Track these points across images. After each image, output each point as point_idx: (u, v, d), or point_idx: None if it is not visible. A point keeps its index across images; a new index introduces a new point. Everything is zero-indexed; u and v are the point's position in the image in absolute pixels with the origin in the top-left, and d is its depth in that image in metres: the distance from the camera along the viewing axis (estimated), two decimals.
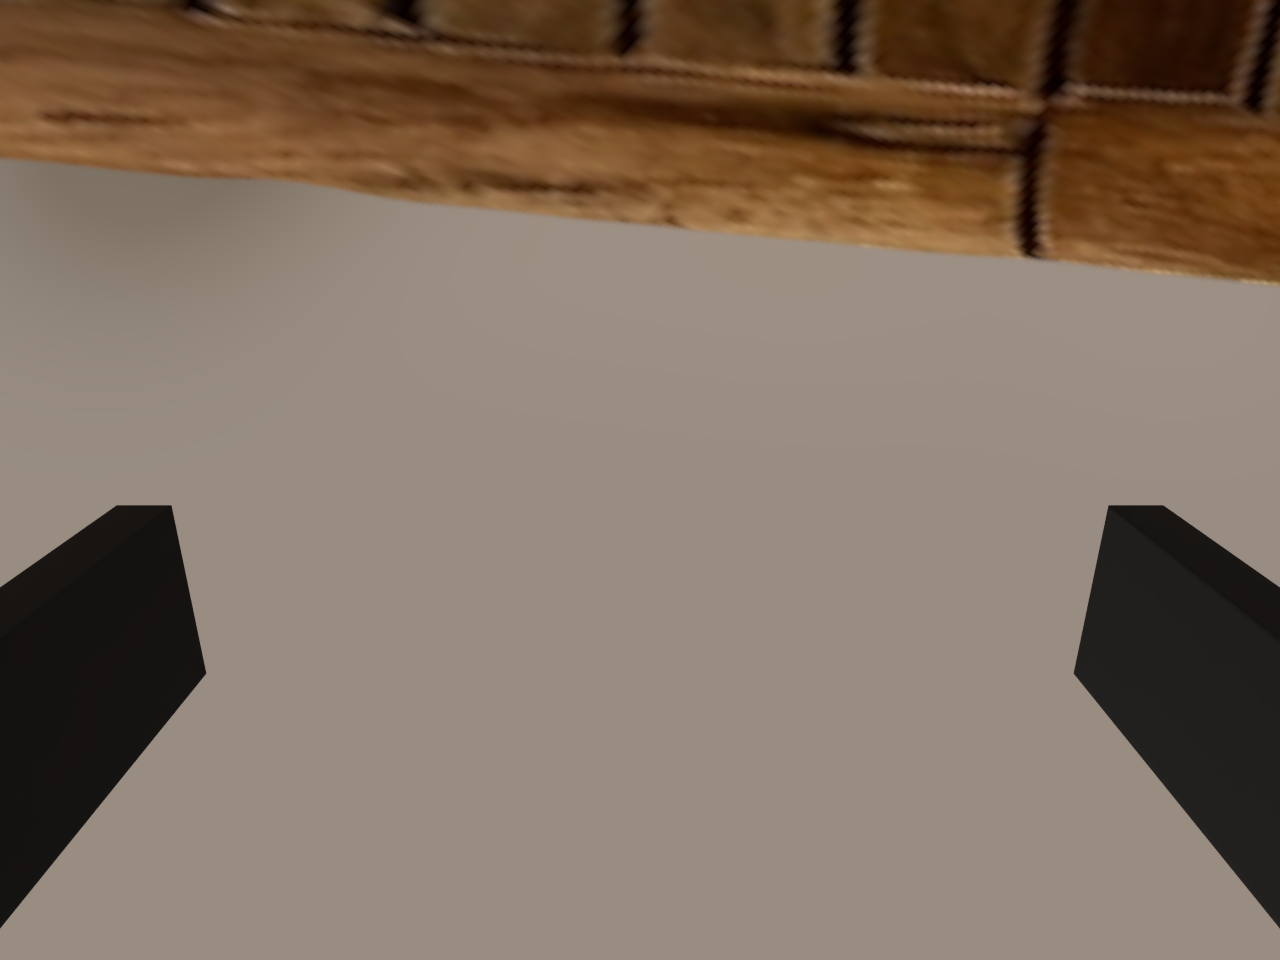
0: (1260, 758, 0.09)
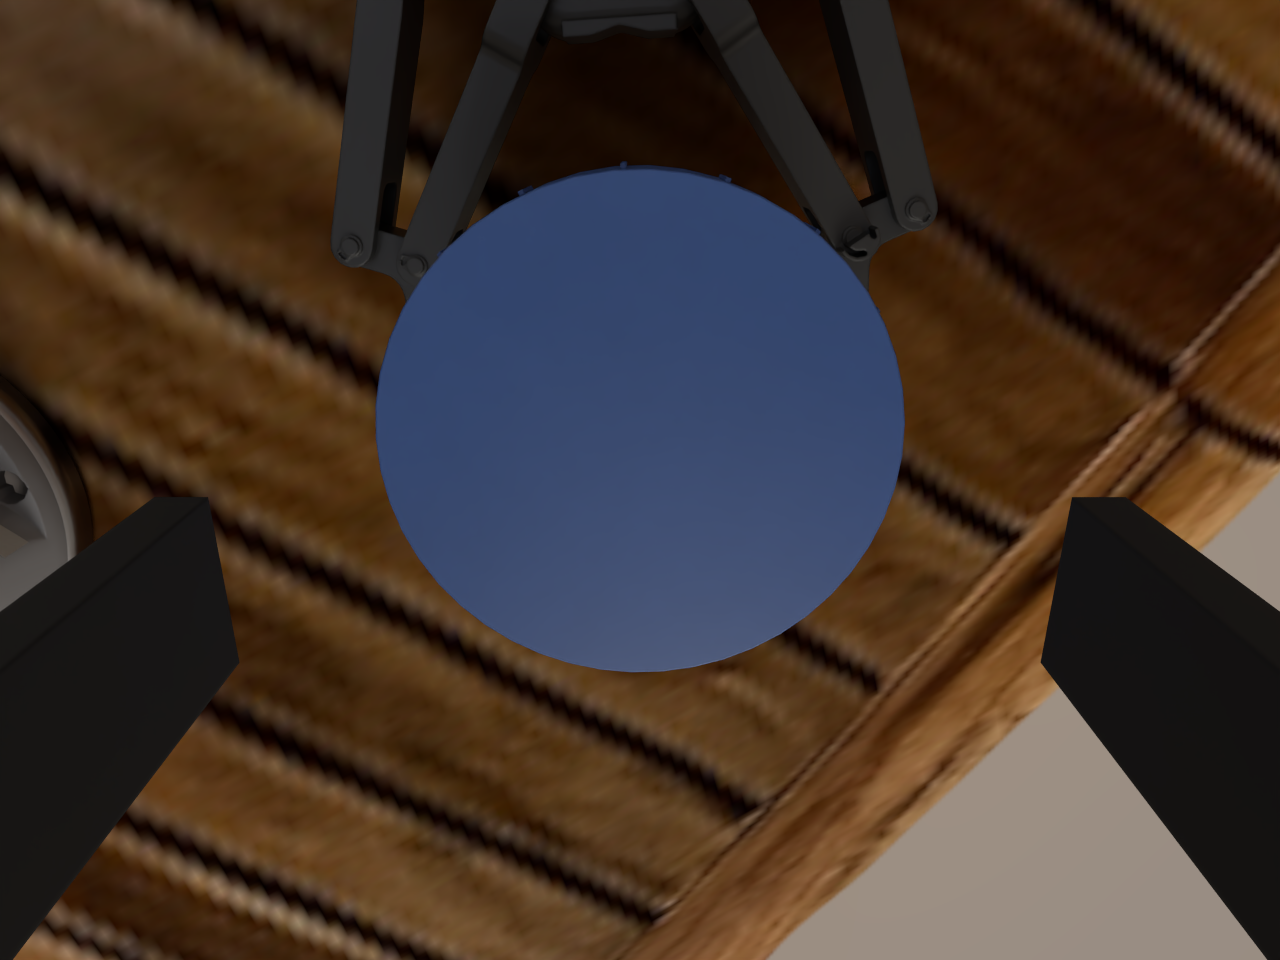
0: (1207, 739, 0.09)
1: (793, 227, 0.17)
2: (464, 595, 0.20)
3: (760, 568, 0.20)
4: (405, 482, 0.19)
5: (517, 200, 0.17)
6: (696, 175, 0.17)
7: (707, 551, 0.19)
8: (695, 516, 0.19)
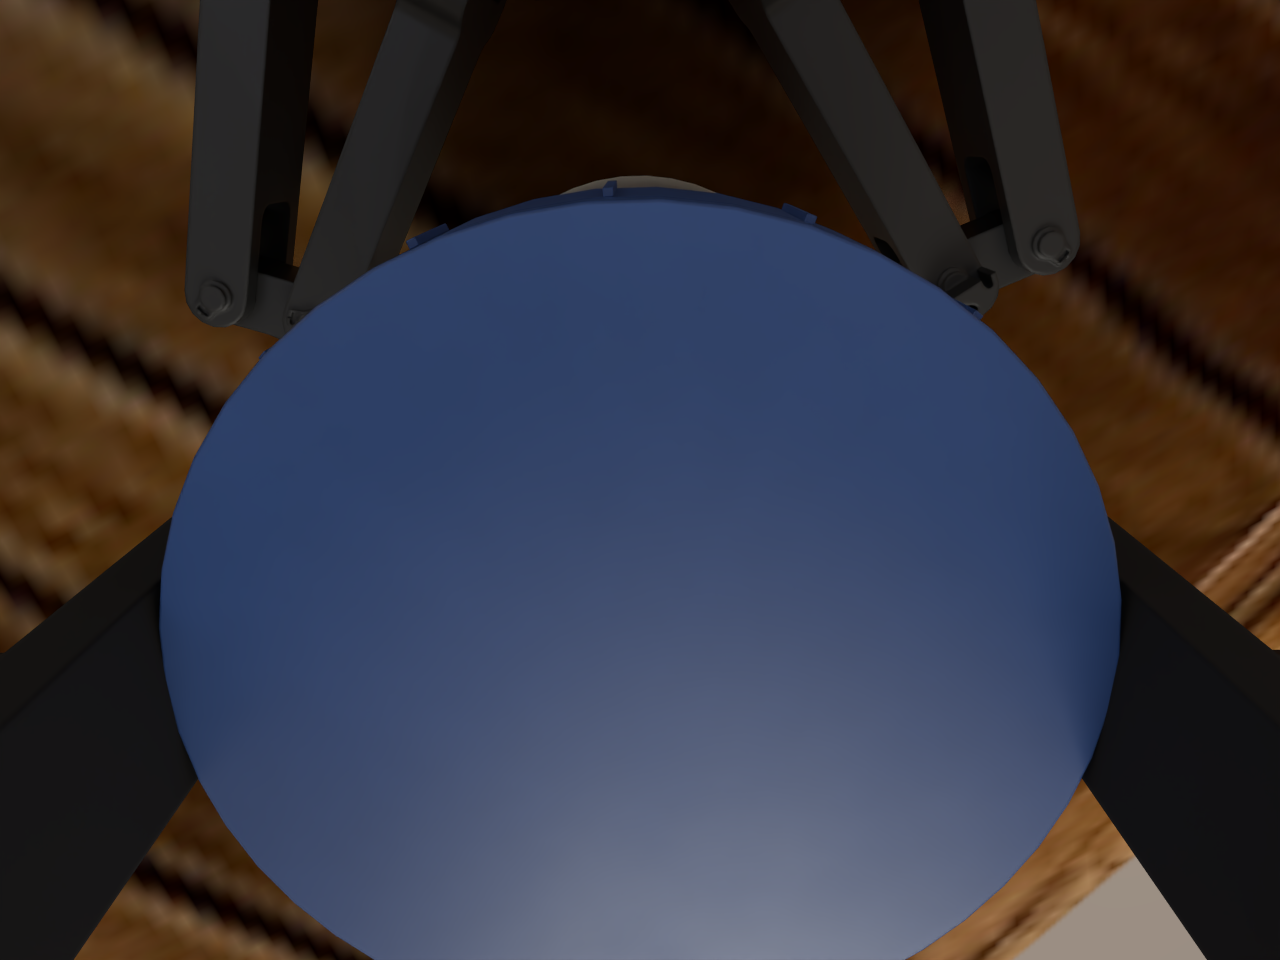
0: (1133, 715, 0.10)
1: (938, 312, 0.09)
2: (340, 919, 0.12)
3: (847, 879, 0.11)
4: (223, 750, 0.11)
5: (399, 261, 0.08)
6: (752, 212, 0.08)
7: (757, 855, 0.11)
8: (737, 802, 0.11)
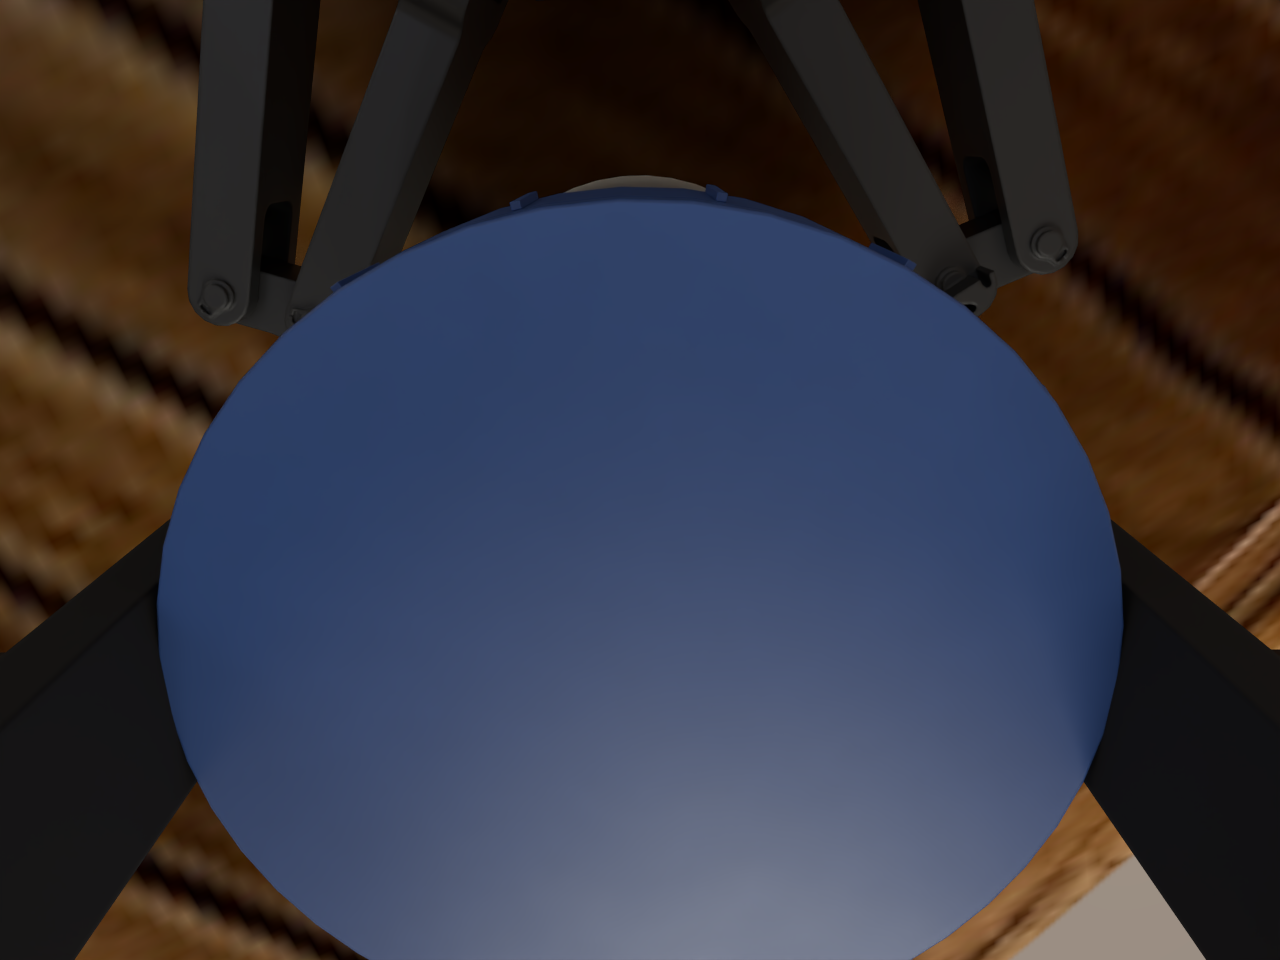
0: (1131, 716, 0.10)
1: (198, 487, 0.09)
2: (928, 930, 0.12)
3: (890, 465, 0.09)
4: None
5: None
6: (161, 644, 0.10)
7: (849, 569, 0.10)
8: (773, 597, 0.10)
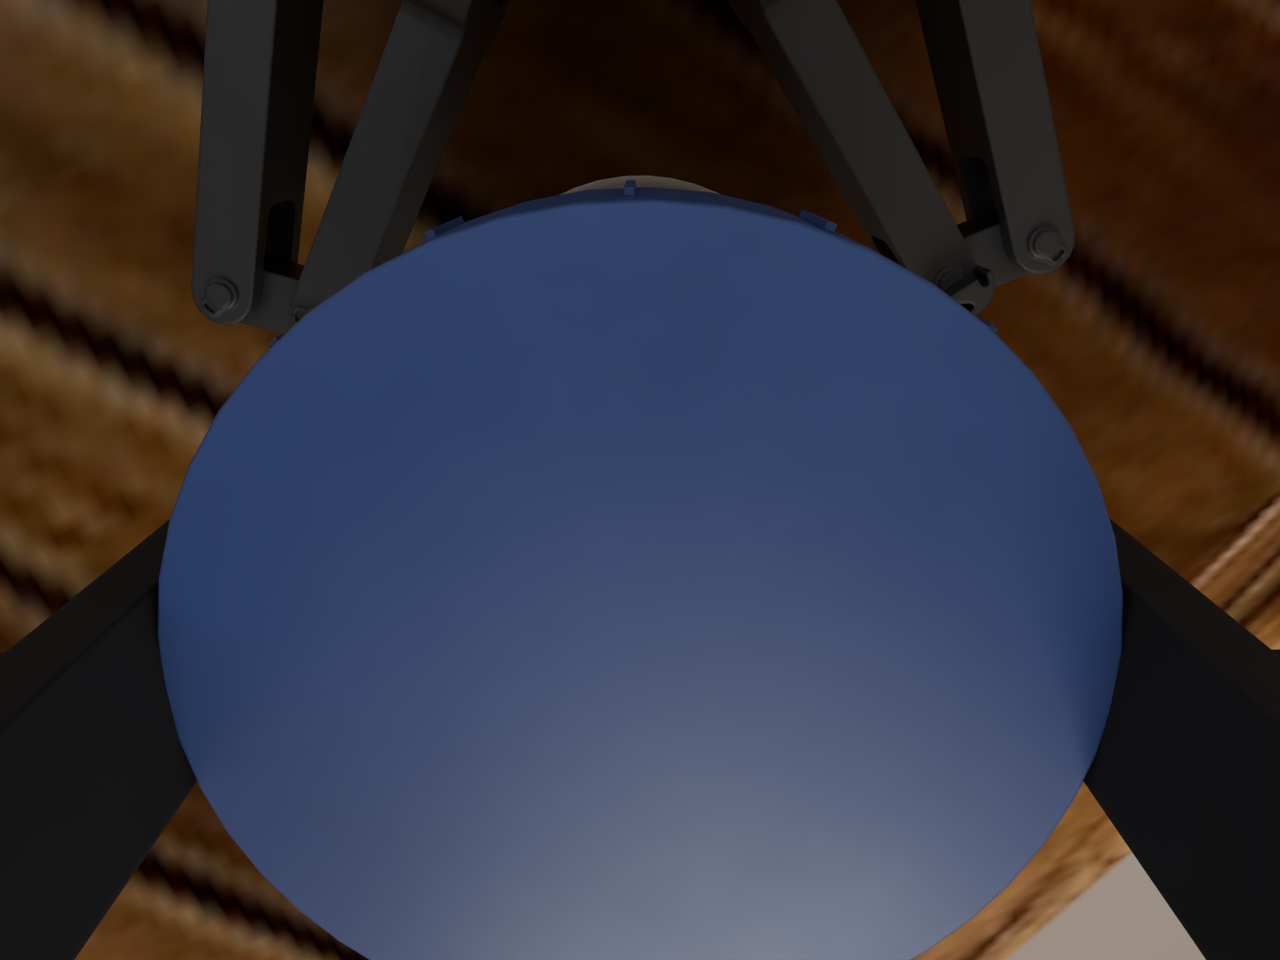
0: (1131, 716, 0.10)
1: None
2: (978, 352, 0.09)
3: (355, 505, 0.09)
4: (1078, 582, 0.10)
5: None
6: None
7: (471, 526, 0.09)
8: (512, 591, 0.10)
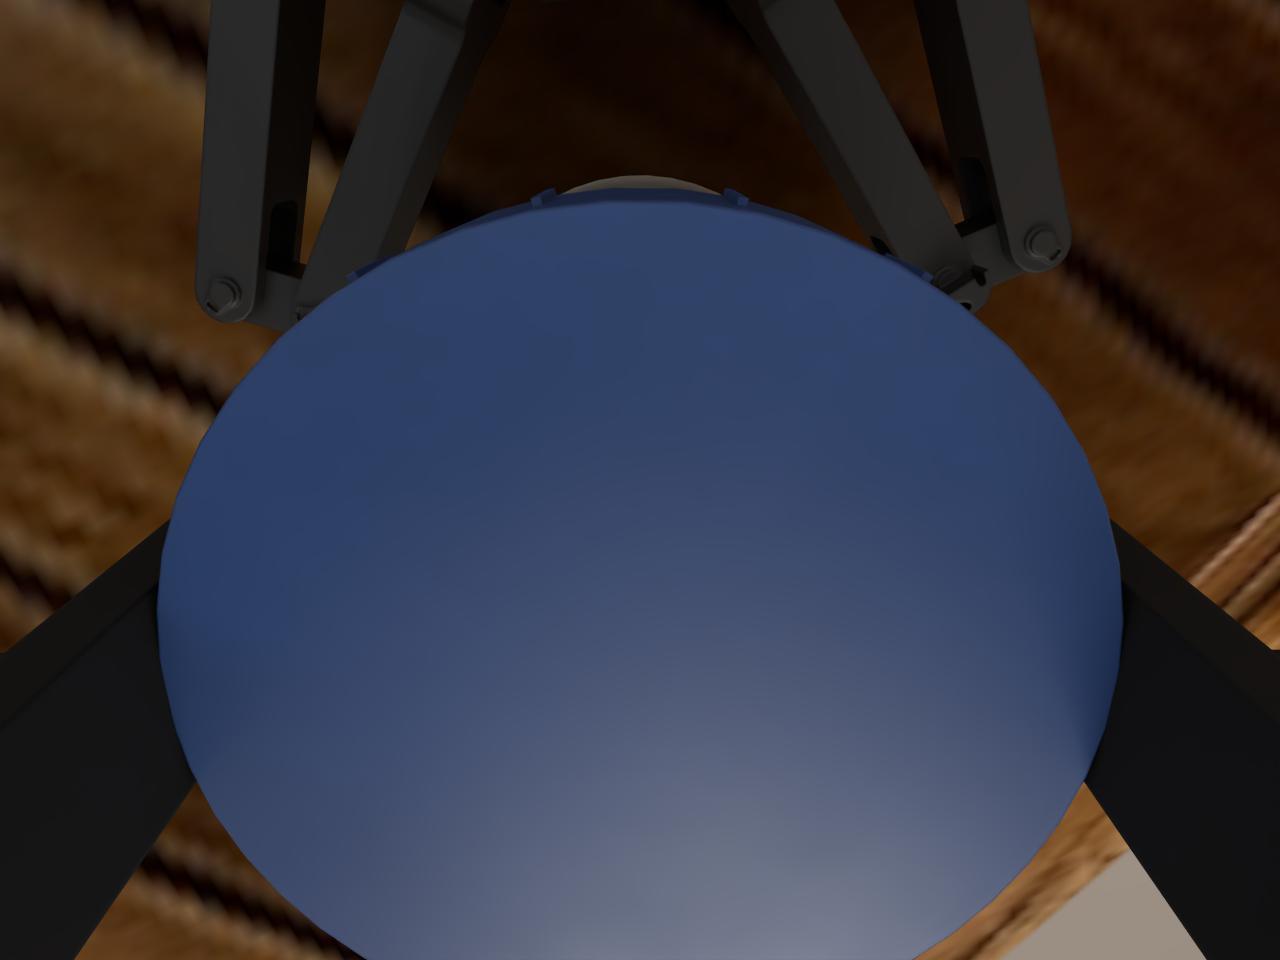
0: (1132, 716, 0.10)
1: (1042, 826, 0.11)
2: (227, 445, 0.09)
3: (471, 905, 0.11)
4: (449, 288, 0.09)
5: (1063, 423, 0.09)
6: (1113, 684, 0.10)
7: (476, 831, 0.11)
8: (535, 801, 0.11)
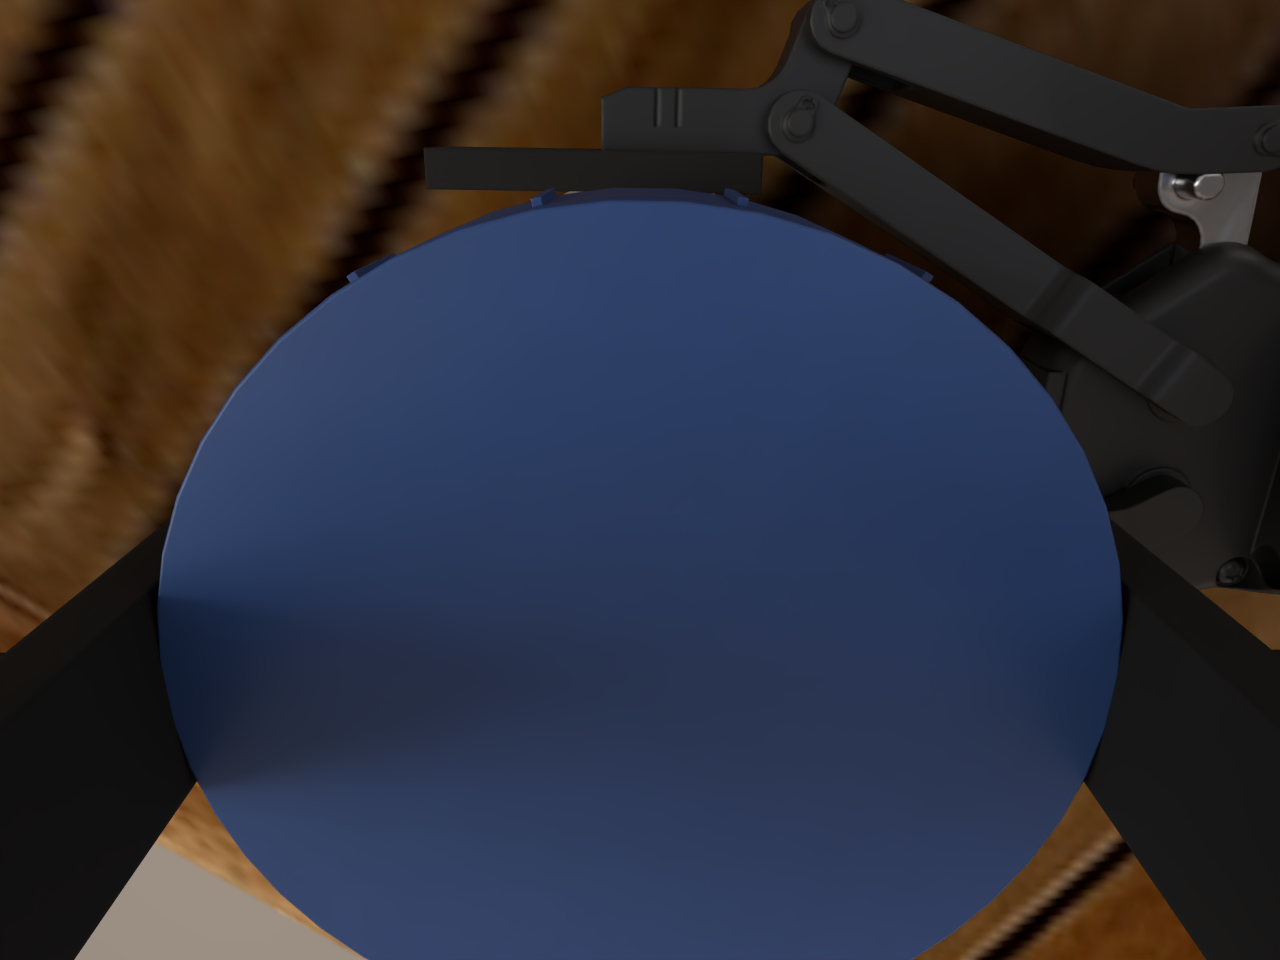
0: (1132, 715, 0.10)
1: (1042, 826, 0.11)
2: (227, 445, 0.09)
3: (470, 906, 0.11)
4: (449, 288, 0.09)
5: (1063, 423, 0.09)
6: (1113, 684, 0.10)
7: (476, 831, 0.11)
8: (535, 801, 0.11)
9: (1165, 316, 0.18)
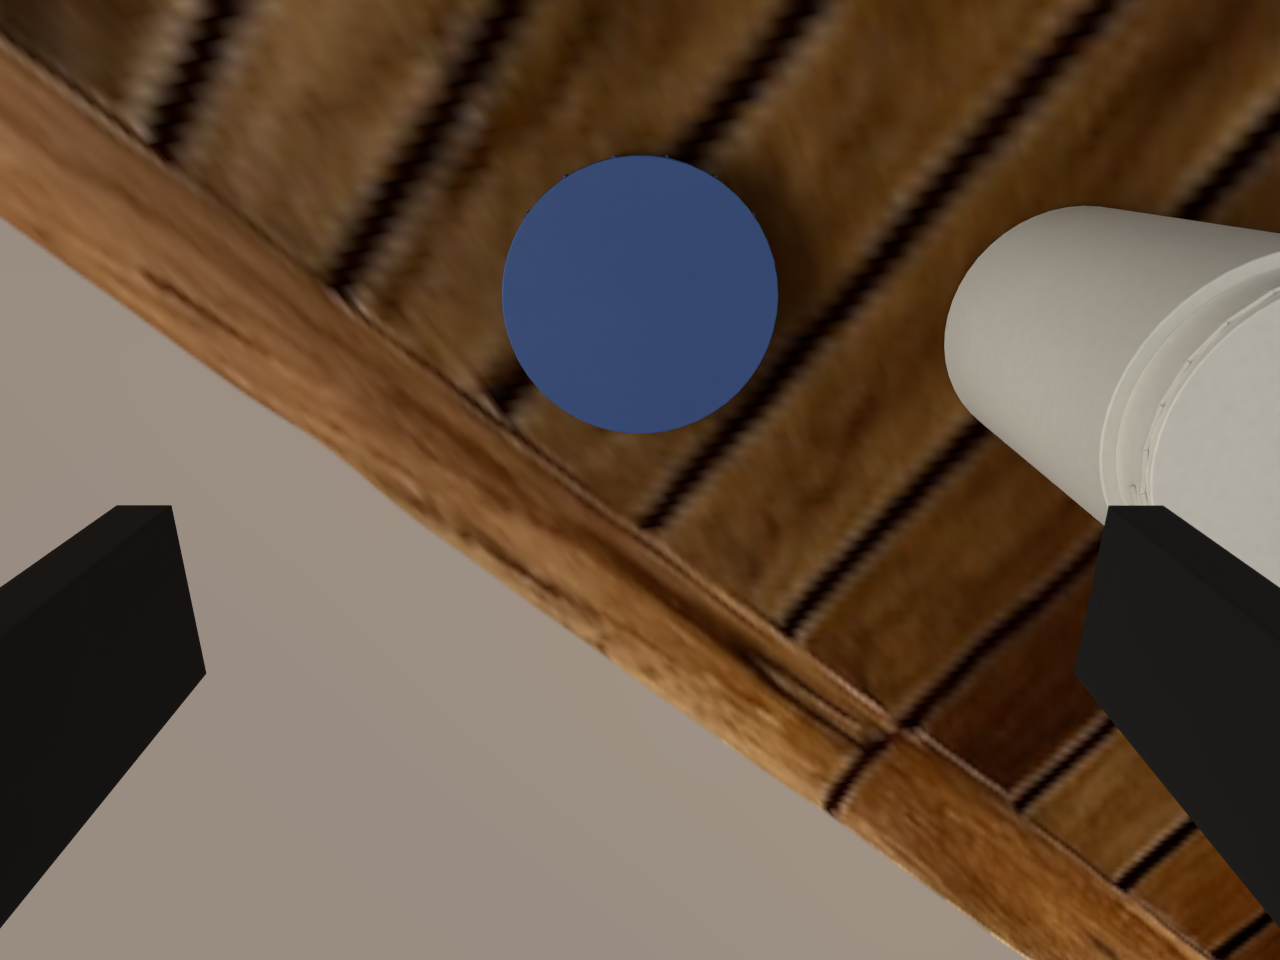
0: (1260, 758, 0.09)
1: (762, 349, 0.36)
2: (529, 222, 0.34)
3: (587, 380, 0.36)
4: (591, 178, 0.34)
5: (752, 215, 0.34)
6: (777, 298, 0.35)
7: (590, 350, 0.36)
8: (608, 339, 0.36)
9: None
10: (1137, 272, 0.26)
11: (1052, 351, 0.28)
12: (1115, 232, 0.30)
